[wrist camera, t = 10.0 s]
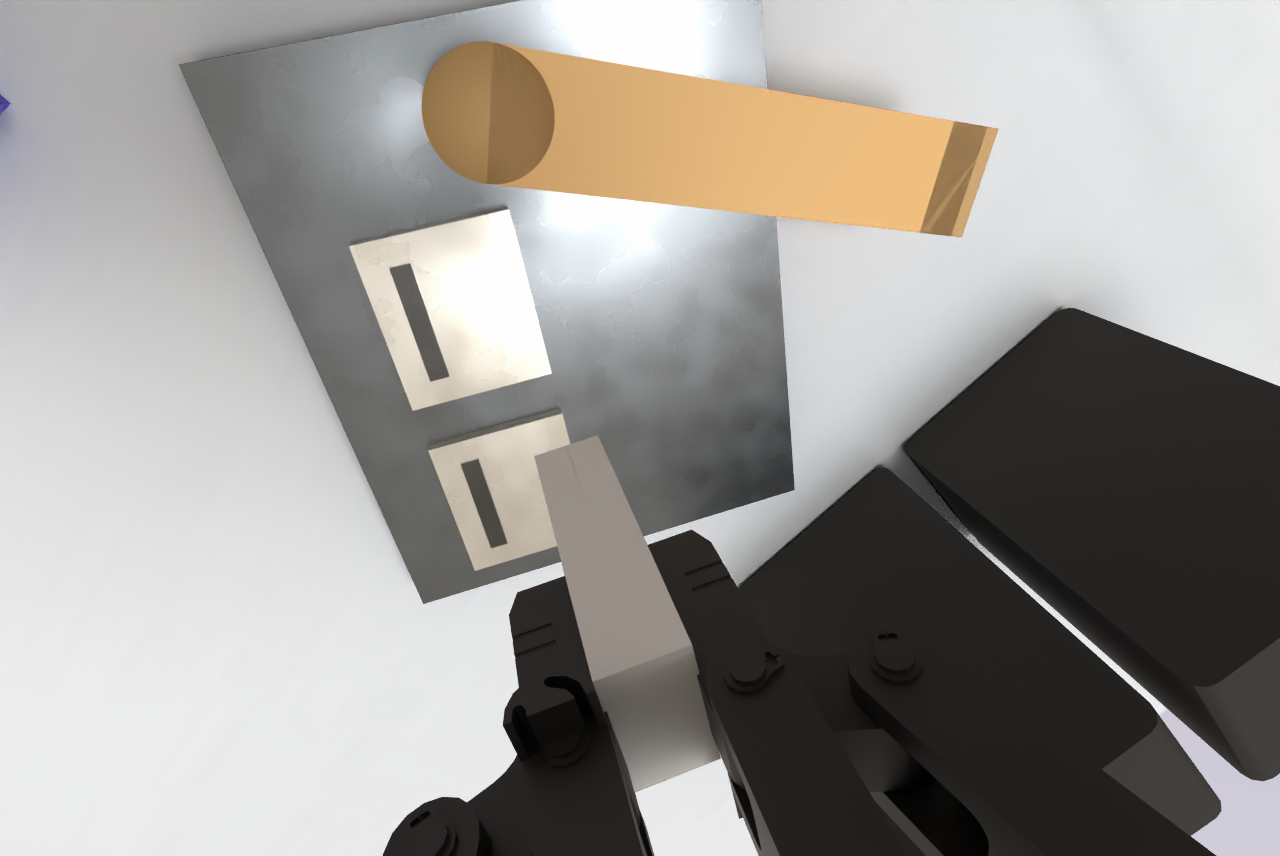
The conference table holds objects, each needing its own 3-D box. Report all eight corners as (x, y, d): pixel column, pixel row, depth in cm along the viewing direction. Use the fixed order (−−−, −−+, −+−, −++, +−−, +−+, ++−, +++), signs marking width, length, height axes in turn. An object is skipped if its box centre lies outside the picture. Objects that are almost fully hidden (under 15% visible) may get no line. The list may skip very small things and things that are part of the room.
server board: (197, 64, 24) (171, 64, 21) (737, -38, 26) (766, -48, 24) (424, 578, 36) (423, 614, 33) (778, 470, 38) (800, 497, 36)
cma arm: (423, 164, 24) (421, 176, 21) (423, 34, 22) (421, 29, 20) (913, 221, 30) (961, 237, 27) (944, 122, 28) (998, 128, 25)
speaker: (820, 661, 47) (1014, 962, 31) (731, 590, 42) (910, 910, 26) (1118, 415, 44) (1507, 616, 28) (1061, 303, 38) (1504, 472, 22)
